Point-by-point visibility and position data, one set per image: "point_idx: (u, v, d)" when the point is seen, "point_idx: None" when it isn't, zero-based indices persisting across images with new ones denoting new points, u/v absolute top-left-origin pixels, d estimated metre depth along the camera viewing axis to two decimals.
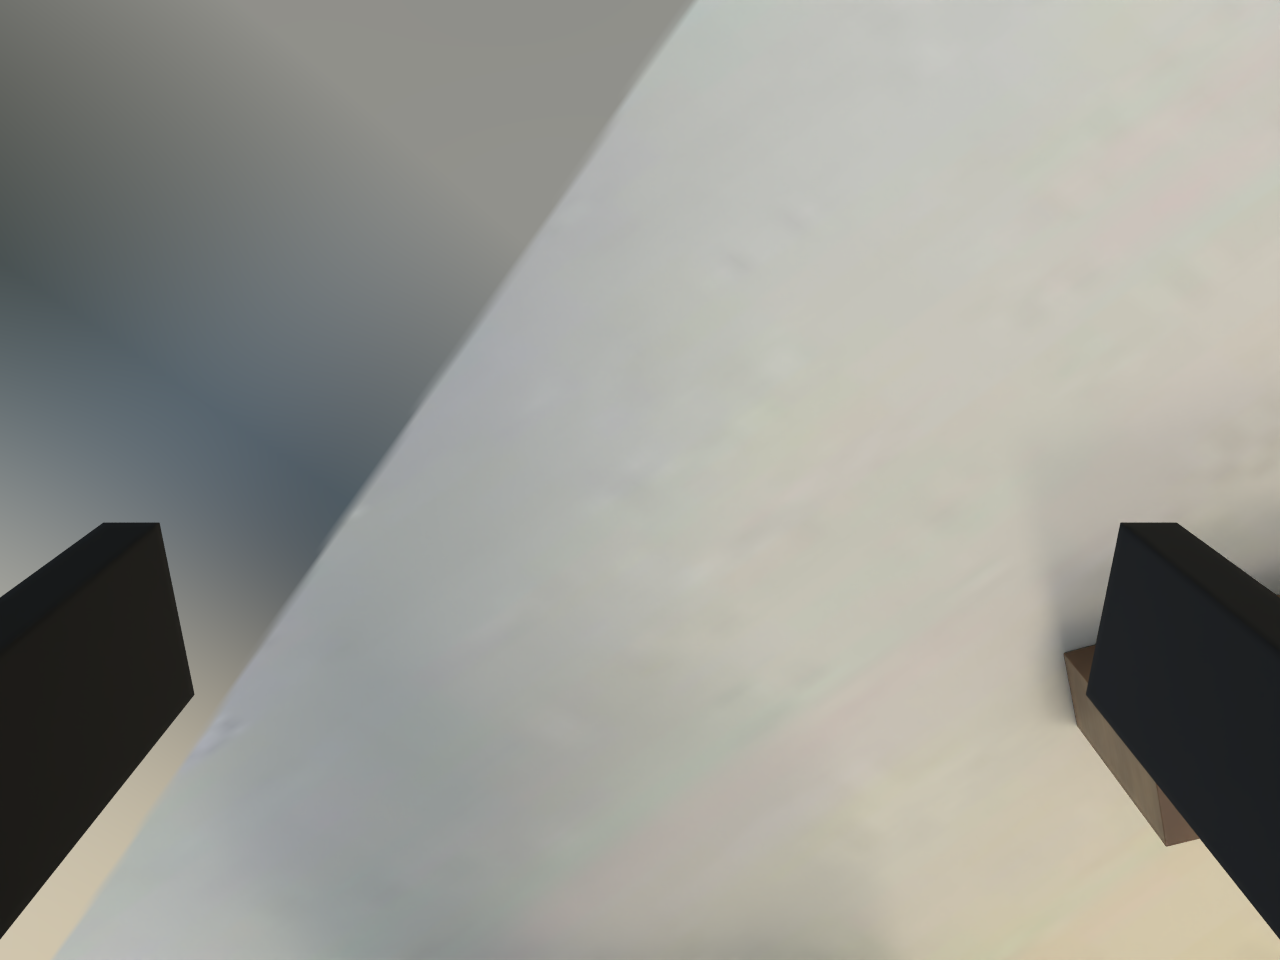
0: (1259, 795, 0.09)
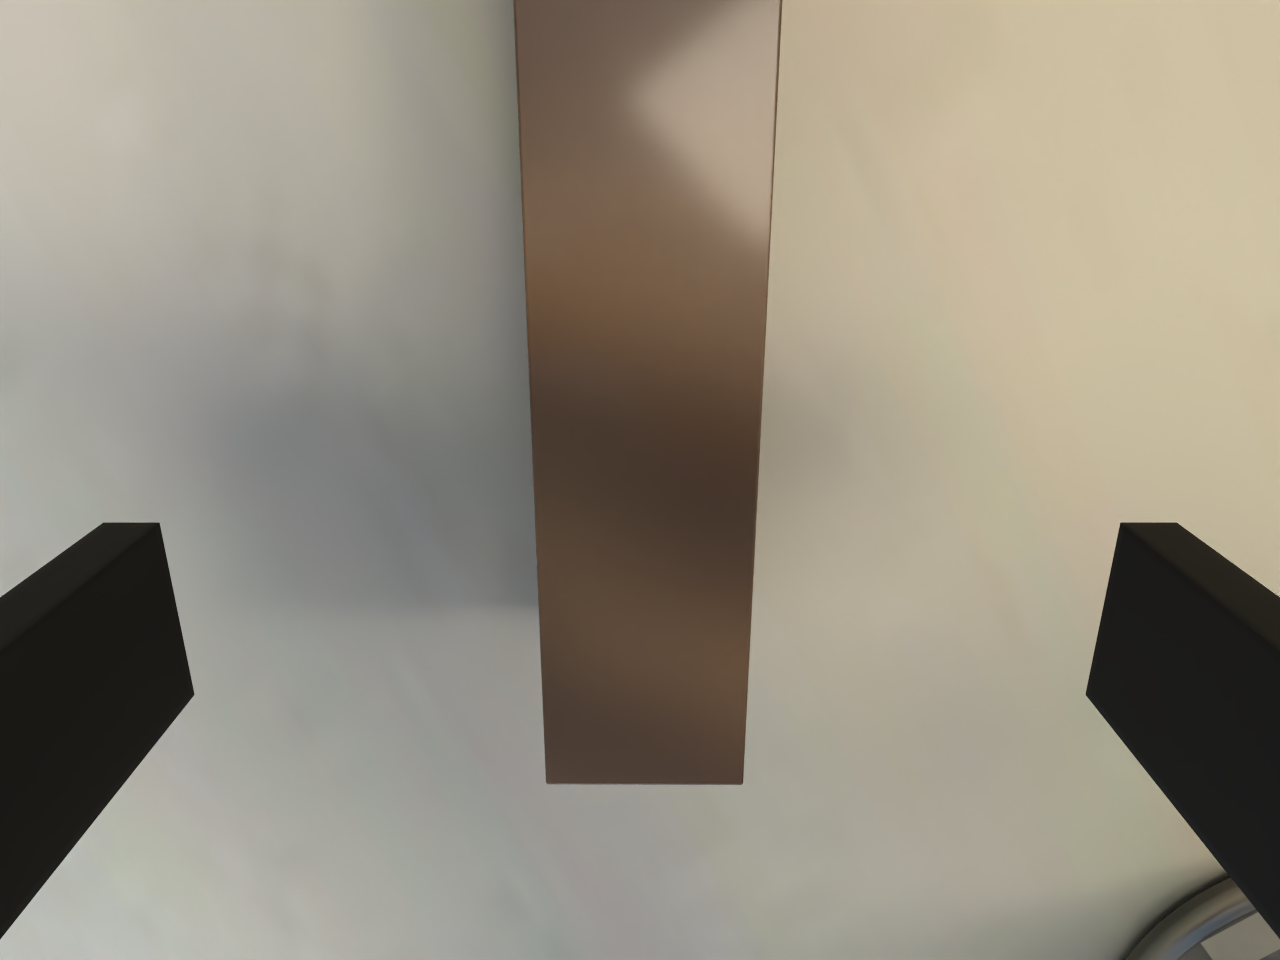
0: (1259, 795, 0.09)
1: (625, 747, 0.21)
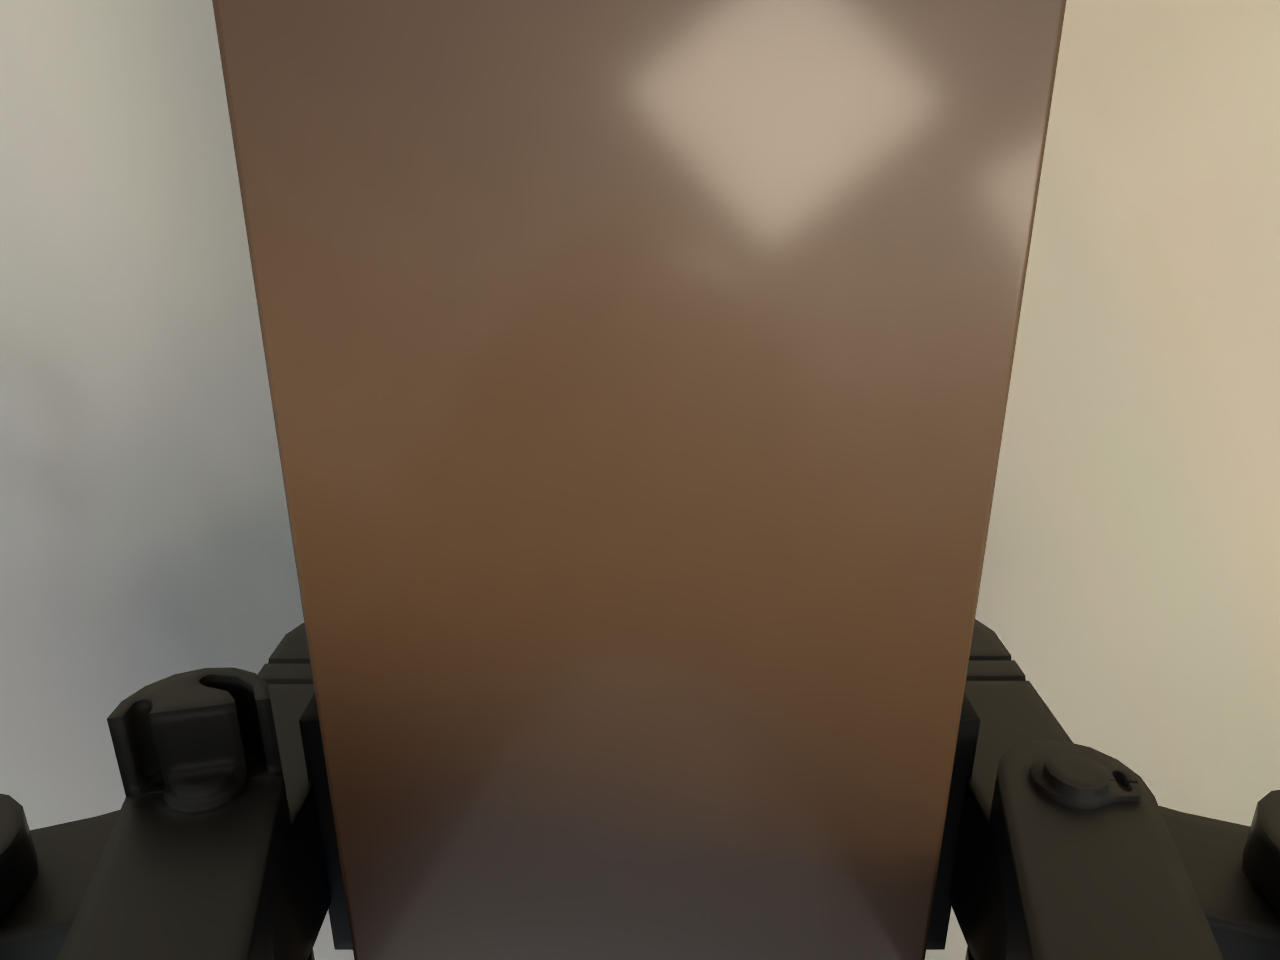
0: None
1: None
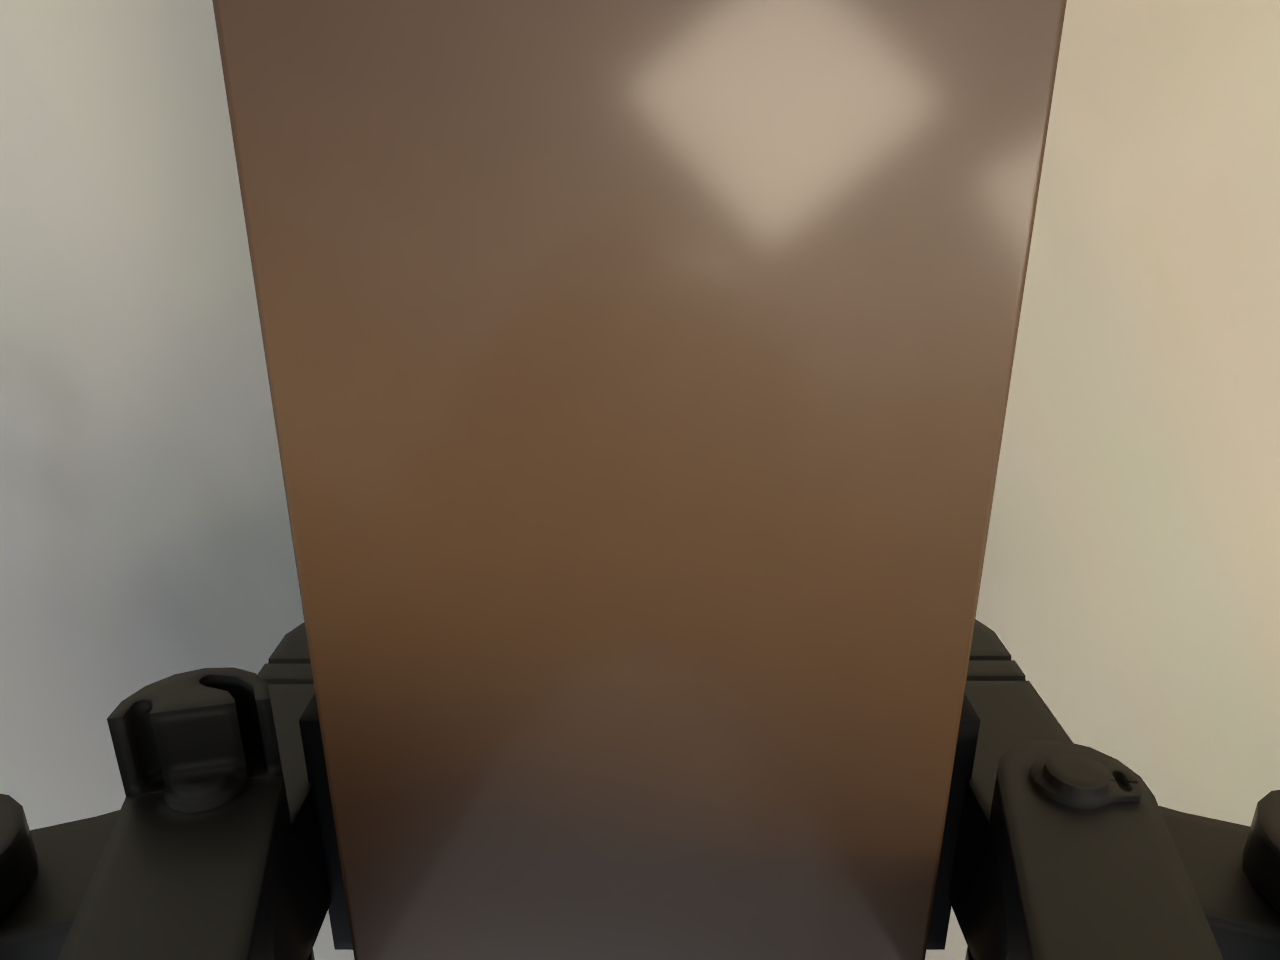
0: None
1: None
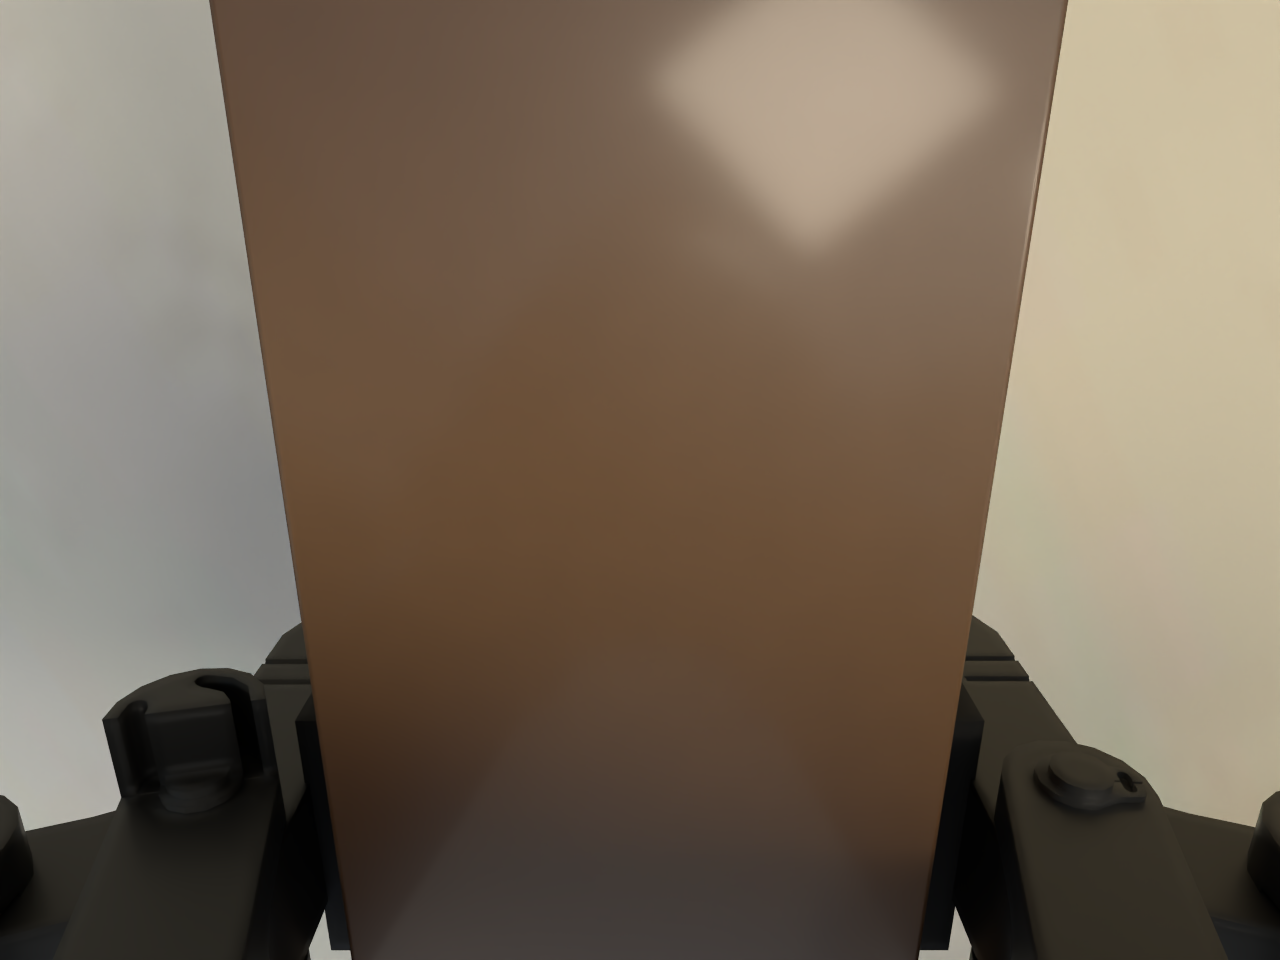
0: None
1: None
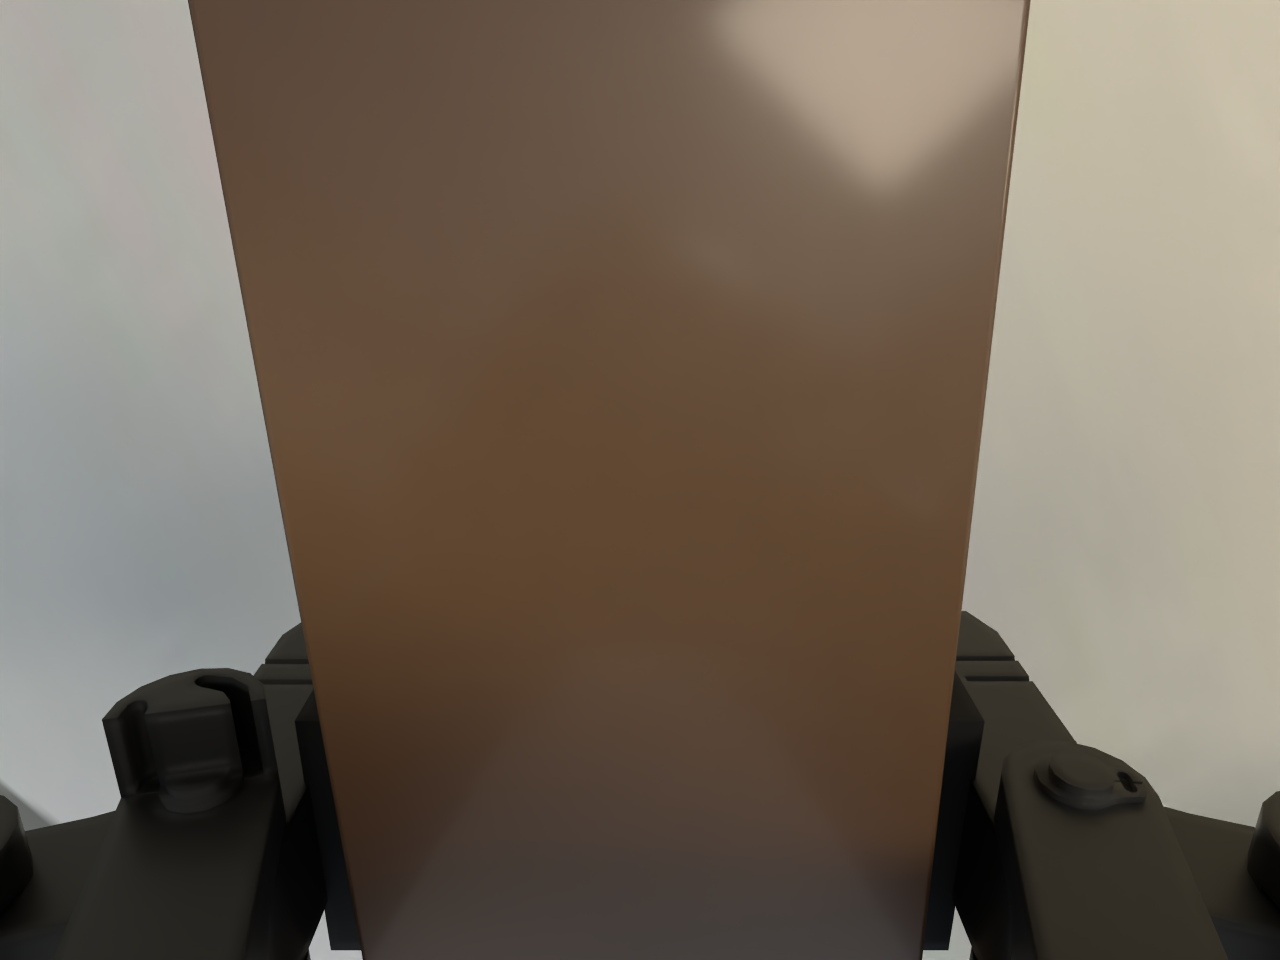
0: None
1: None
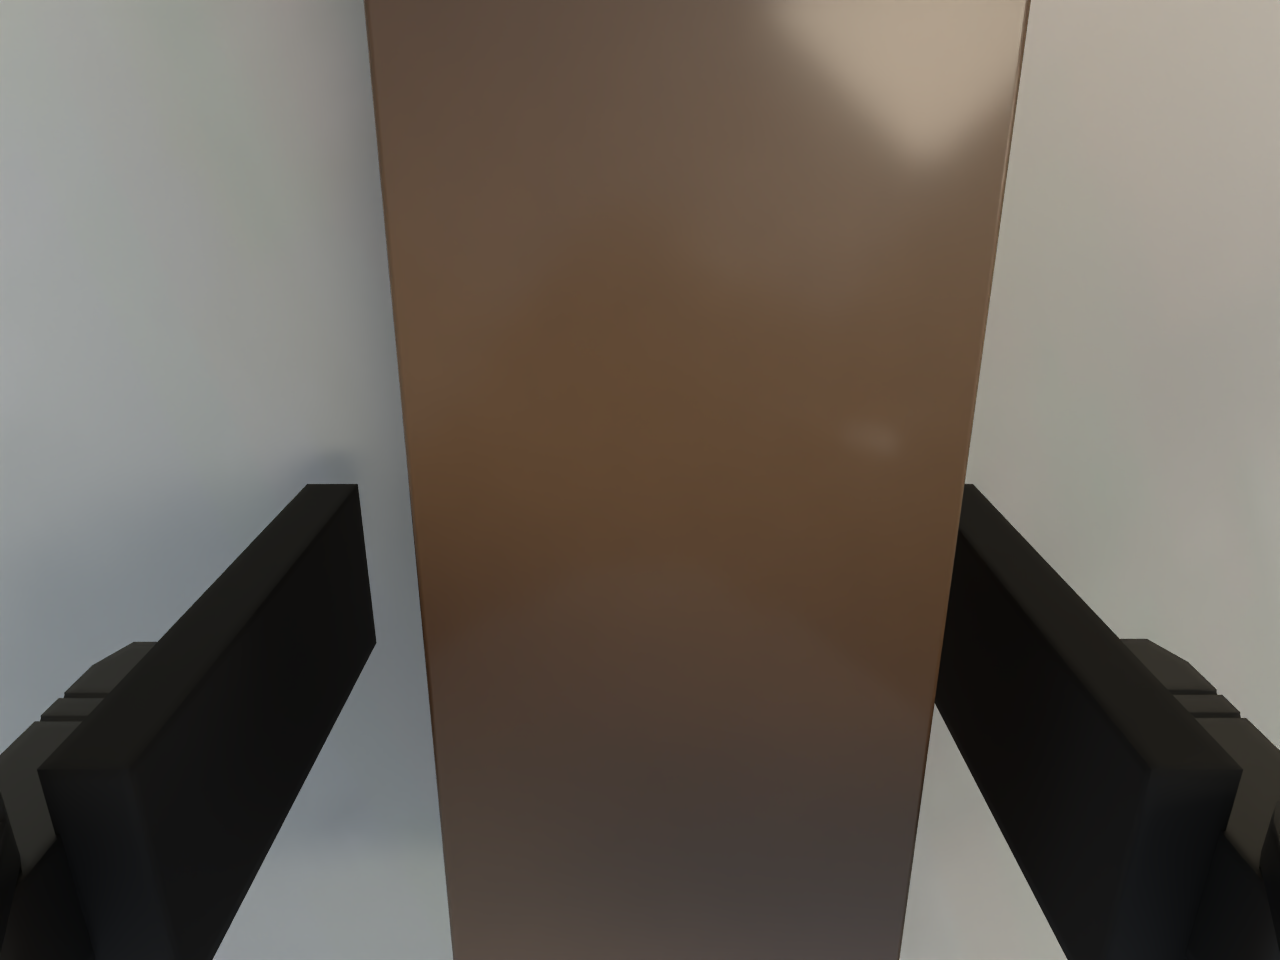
0: (993, 713, 0.11)
1: None
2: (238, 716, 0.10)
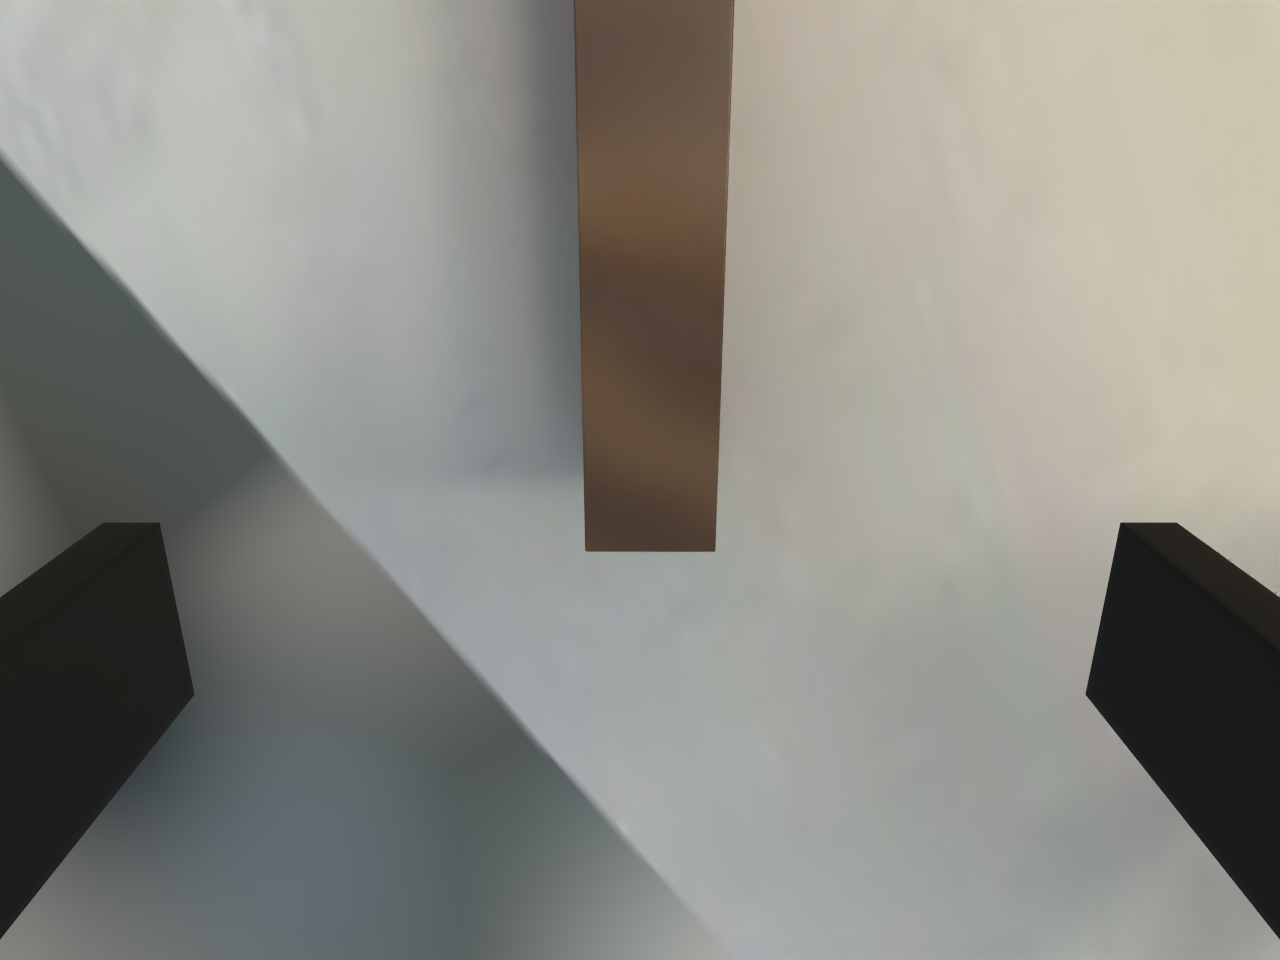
0: (1259, 795, 0.09)
1: (637, 525, 0.32)
2: None
